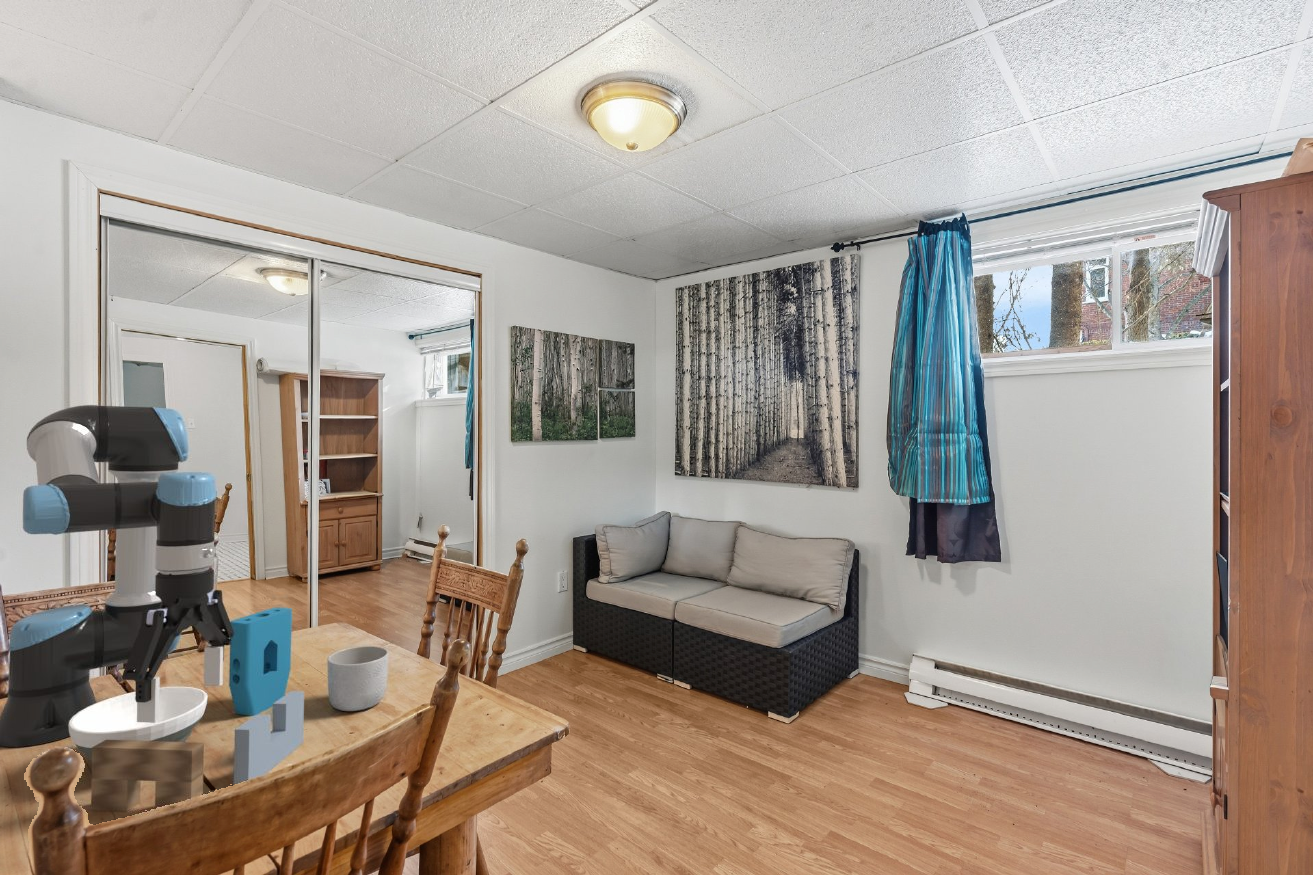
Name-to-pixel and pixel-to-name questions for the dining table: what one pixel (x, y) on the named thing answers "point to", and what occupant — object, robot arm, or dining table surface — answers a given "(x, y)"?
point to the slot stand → (268, 738)
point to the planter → (357, 677)
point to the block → (260, 659)
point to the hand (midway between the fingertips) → (182, 702)
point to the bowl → (120, 719)
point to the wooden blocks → (144, 772)
